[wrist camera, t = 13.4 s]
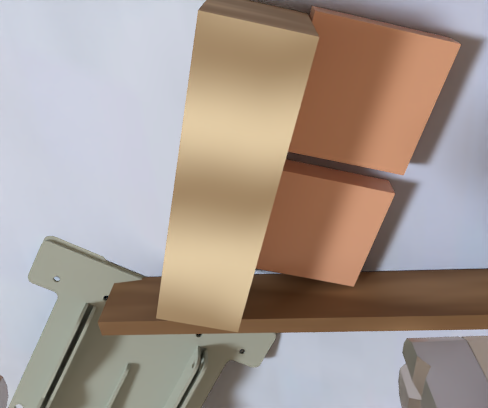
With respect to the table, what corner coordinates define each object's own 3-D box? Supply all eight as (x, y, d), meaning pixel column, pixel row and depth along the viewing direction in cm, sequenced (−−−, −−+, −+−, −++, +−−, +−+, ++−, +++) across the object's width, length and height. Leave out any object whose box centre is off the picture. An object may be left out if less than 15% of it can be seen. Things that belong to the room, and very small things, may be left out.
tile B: (393, 158, 23) (403, 175, 21) (276, 134, 22) (278, 149, 21) (445, 35, 20) (461, 44, 18) (310, 4, 19) (315, 10, 18)
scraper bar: (242, 266, 26) (237, 332, 22) (173, 254, 26) (156, 318, 22) (307, 12, 19) (319, 36, 15) (213, -9, 19) (198, 10, 14)
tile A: (348, 265, 26) (353, 286, 25) (247, 246, 26) (246, 266, 24) (386, 176, 23) (395, 193, 22) (271, 152, 23) (272, 168, 21)
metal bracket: (187, 508, 30) (-47, 438, 26) (189, 438, 35) (-5, 374, 32) (293, 332, 27) (42, 229, 23) (276, 286, 32) (72, 198, 29)
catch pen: (515, 281, 26) (549, 328, 23) (119, 290, 27) (102, 335, 24) (687, -249, 14) (799, -295, 11) (-10, -184, 16) (-74, -210, 13)
